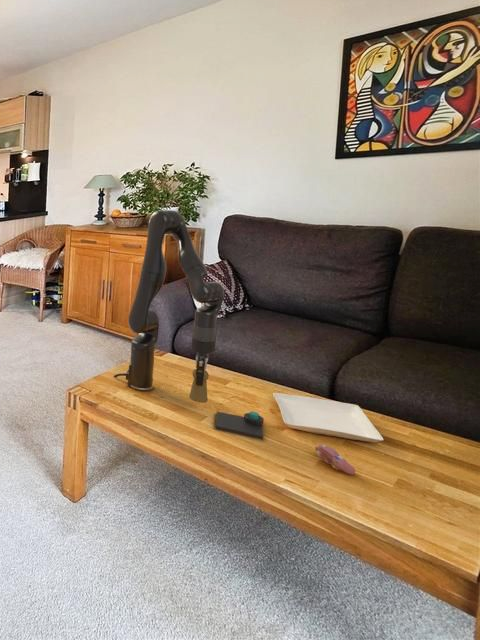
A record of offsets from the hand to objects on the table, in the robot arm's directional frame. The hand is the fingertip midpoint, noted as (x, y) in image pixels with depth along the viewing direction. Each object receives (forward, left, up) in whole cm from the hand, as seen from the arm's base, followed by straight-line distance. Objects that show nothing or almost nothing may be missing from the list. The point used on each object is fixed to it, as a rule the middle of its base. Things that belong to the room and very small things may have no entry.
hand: (199, 382), depth 171 cm
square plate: (+39, +18, -14) cm, 45 cm away
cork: (0, 0, -7) cm, 7 cm away
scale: (+13, 0, -14) cm, 19 cm away
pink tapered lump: (+38, -13, -14) cm, 43 cm away
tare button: (+18, +4, -11) cm, 21 cm away
